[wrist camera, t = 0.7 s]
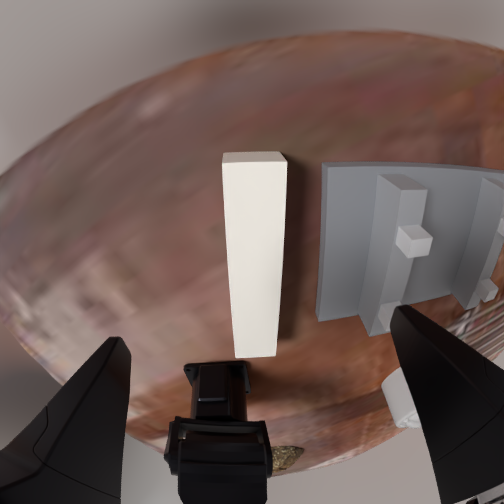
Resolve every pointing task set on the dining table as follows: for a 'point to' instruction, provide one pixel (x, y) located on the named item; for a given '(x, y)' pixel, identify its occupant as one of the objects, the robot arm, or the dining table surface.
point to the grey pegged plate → (406, 237)
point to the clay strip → (255, 246)
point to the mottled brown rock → (284, 457)
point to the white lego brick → (400, 400)
